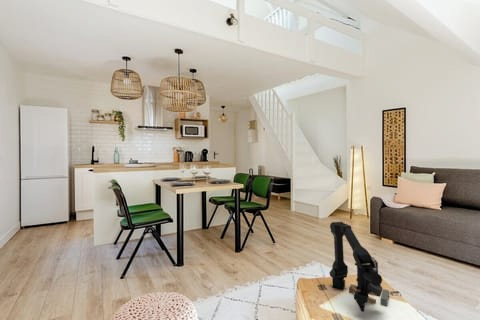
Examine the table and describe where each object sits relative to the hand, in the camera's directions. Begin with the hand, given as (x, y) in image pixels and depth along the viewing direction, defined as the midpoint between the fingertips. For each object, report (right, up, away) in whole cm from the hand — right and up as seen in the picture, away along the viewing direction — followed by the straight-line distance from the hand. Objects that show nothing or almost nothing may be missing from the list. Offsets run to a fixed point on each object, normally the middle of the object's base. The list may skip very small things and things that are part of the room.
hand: (364, 307), depth 132 cm
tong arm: (+4, -1, +11) cm, 12 cm away
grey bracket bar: (+15, -1, +8) cm, 17 cm away
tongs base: (+7, -1, +15) cm, 16 cm away
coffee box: (+16, -1, +24) cm, 29 cm away
